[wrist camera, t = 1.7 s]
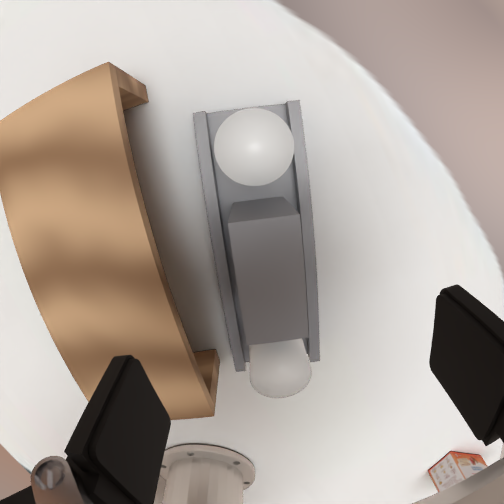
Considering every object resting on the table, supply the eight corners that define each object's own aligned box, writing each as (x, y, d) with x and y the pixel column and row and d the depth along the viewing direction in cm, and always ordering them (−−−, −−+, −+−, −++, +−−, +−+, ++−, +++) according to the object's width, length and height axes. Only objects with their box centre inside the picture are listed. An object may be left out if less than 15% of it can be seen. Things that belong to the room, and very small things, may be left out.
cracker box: (481, 452, 37) (521, 522, 17) (459, 471, 39) (495, 542, 19) (451, 448, 35) (498, 537, 15) (426, 470, 36) (464, 558, 16)
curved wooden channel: (219, 361, 27) (214, 416, 20) (124, 372, 27) (101, 420, 21) (145, 85, 20) (108, 61, 13) (42, 129, 20) (-11, 128, 14)
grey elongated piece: (313, 343, 27) (335, 408, 19) (236, 353, 27) (234, 422, 19) (293, 106, 21) (319, 80, 13) (198, 118, 21) (173, 97, 13)
